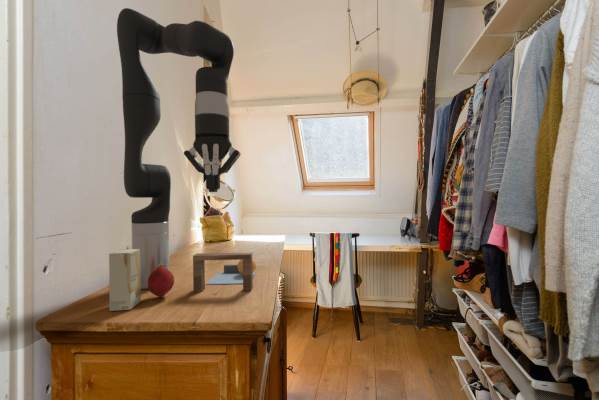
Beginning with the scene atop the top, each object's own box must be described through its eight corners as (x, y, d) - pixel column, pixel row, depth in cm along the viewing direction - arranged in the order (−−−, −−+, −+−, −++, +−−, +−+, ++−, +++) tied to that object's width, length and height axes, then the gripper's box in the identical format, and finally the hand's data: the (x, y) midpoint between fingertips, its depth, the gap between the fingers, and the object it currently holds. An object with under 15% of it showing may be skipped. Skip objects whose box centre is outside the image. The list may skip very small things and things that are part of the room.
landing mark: (250, 283, 82) (249, 283, 82) (206, 284, 82) (206, 283, 82) (255, 273, 94) (255, 272, 94) (217, 273, 94) (217, 273, 94)
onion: (163, 302, 69) (163, 267, 69) (141, 300, 70) (141, 266, 70) (179, 294, 74) (178, 261, 74) (158, 292, 76) (157, 261, 76)
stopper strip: (223, 273, 95) (223, 265, 95) (224, 272, 96) (224, 264, 96) (249, 273, 95) (249, 265, 95) (249, 272, 96) (249, 264, 96)
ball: (238, 254, 94) (239, 271, 95) (235, 261, 89) (237, 279, 90) (255, 254, 94) (256, 270, 95) (254, 260, 89) (255, 278, 90)
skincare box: (130, 310, 64) (130, 252, 64) (108, 312, 63) (107, 253, 63) (142, 300, 70) (141, 248, 70) (121, 301, 69) (120, 248, 69)
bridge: (251, 290, 76) (250, 254, 76) (193, 292, 76) (192, 255, 76) (252, 287, 79) (252, 252, 79) (197, 288, 79) (196, 253, 79)
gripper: (176, 111, 65) (177, 192, 65) (238, 111, 65) (239, 191, 65) (188, 120, 72) (189, 192, 72) (243, 120, 73) (244, 192, 73)
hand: (213, 191), depth 69 cm, fingers closed
